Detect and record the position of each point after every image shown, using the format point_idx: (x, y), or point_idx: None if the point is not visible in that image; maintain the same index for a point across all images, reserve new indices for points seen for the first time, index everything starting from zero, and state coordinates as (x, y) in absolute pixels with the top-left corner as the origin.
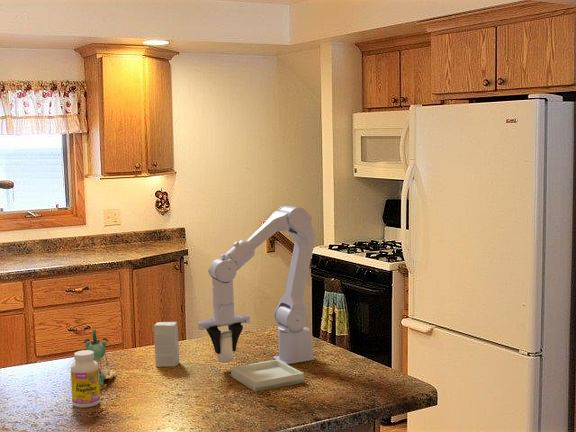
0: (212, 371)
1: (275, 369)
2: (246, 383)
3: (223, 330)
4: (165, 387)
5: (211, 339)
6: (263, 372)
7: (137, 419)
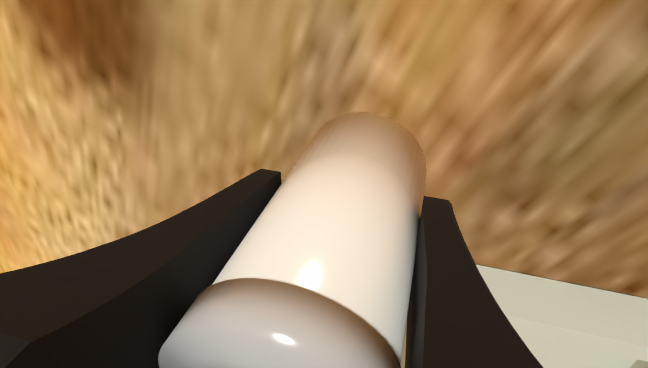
0: (292, 95)
1: (582, 362)
2: None
3: (286, 360)
4: (50, 169)
5: (150, 233)
6: None
7: None
